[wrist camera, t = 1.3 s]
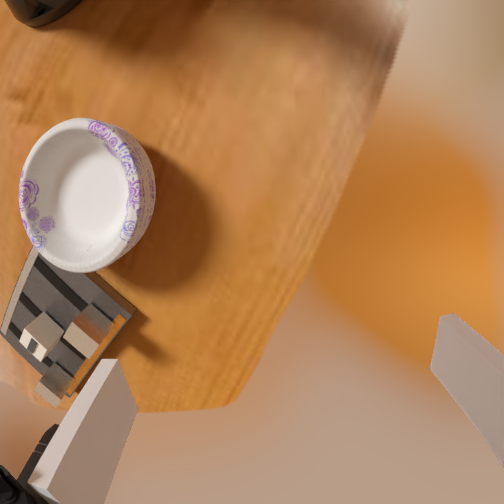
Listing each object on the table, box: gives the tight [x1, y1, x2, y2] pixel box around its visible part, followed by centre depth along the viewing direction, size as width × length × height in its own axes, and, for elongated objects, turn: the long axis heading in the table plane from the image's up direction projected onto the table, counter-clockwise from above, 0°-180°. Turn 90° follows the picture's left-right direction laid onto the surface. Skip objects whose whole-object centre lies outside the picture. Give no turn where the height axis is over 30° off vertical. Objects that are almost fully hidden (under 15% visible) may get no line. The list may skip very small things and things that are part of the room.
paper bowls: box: [19, 118, 156, 273], centre depth 28 cm, size 15×15×8 cm
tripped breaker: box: [19, 312, 64, 362], centre depth 32 cm, size 4×3×5 cm
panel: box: [0, 245, 137, 408], centre depth 33 cm, size 16×22×7 cm
